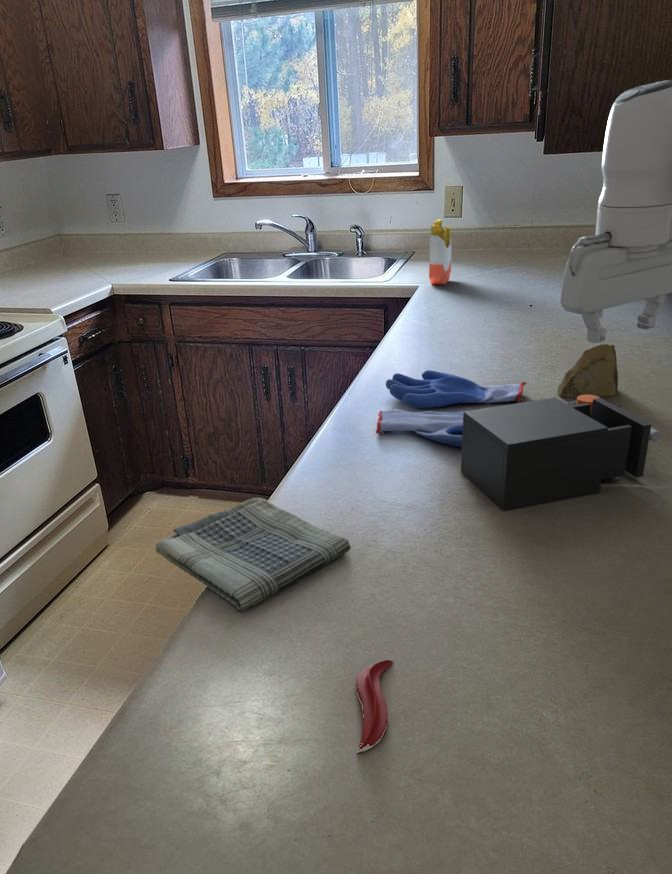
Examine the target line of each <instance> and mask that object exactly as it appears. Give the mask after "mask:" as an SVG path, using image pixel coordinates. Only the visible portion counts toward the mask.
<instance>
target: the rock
mask: <svg viewBox="0 0 672 874" xmlns="http://www.w3.org/2000/svg"><path fill="white" fill-rule="evenodd" d="M618 387H619V371H618V364H617V352H616V346H615V344H608V343H607V344H605V343H603V344H599V345H596V346H593V347H592V348H588V349H586V350H584V351H583V353H582V355H581V356H580V357H579V359H578V360H577V361H576V362H575V364H574V365H572V367H571V368H570V369H569V370H567V371H566V372H565V374H564V377H563V378H562V380H561V381H560V383H559V385H558V387H557V388H558V389H557V390H556V393H557V394H558V396H559V397H561V398H577V397H578V396H580V395H595V396H598V397H600V398H601V397H614V396H615V395H617V394H618Z"/></svg>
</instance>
